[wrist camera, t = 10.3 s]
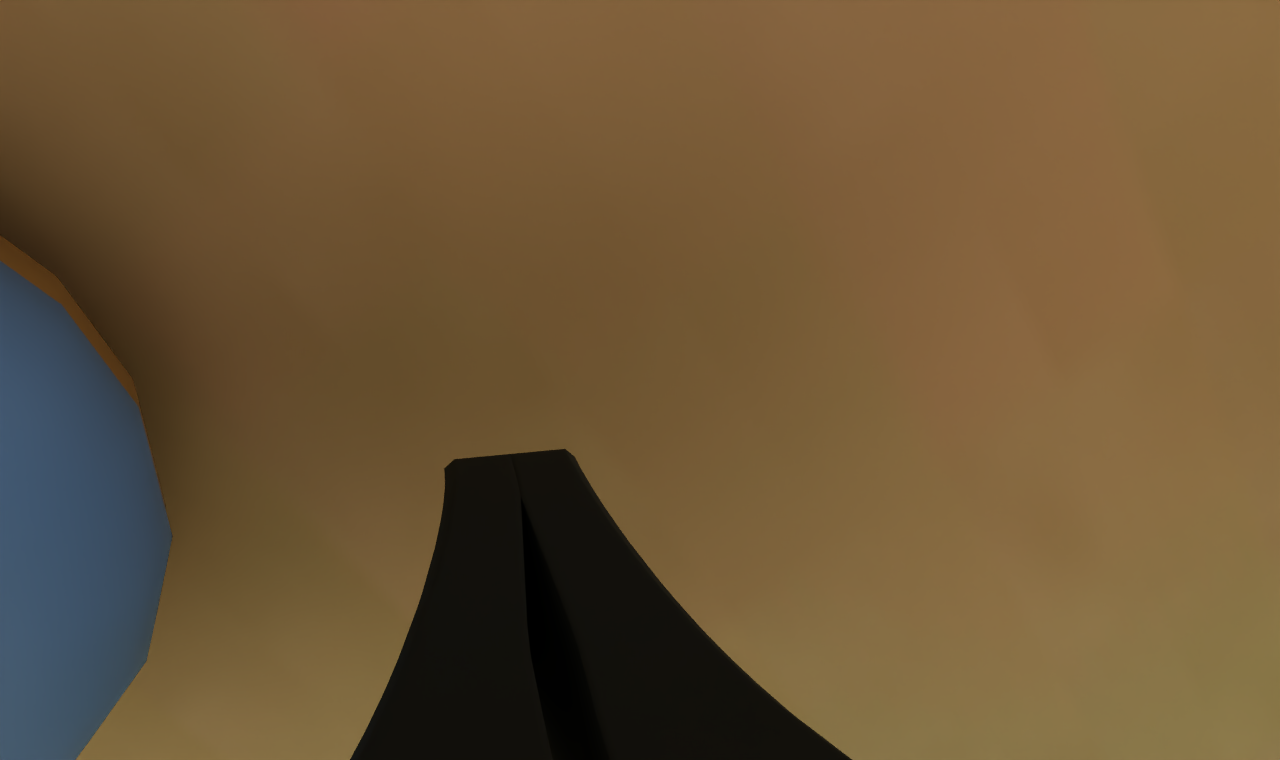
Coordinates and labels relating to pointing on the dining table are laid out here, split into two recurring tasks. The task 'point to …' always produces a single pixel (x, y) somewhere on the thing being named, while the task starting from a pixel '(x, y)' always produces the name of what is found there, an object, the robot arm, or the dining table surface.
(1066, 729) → the dining table surface
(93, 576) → the doughnut
